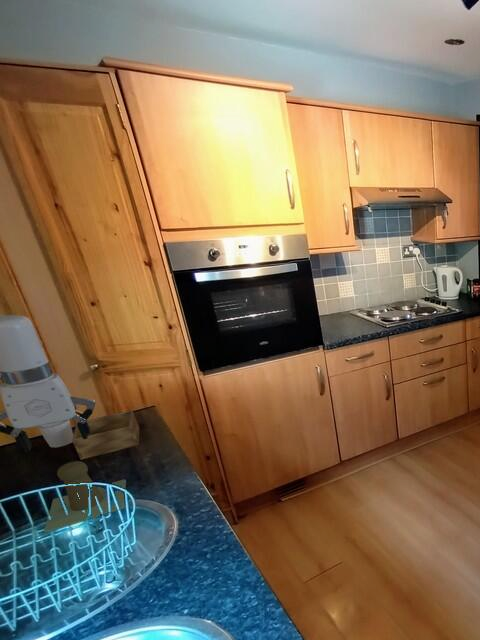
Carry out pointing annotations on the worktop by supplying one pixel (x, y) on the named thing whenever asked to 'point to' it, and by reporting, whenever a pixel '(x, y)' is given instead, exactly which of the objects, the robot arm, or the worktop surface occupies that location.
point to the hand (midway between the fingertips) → (58, 442)
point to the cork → (77, 475)
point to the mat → (74, 517)
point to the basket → (107, 435)
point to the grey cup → (57, 433)
